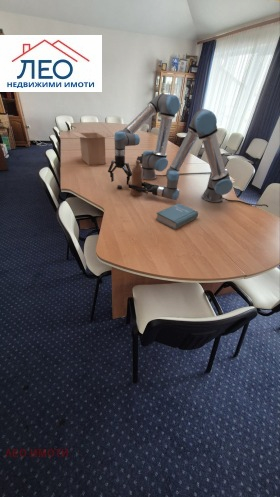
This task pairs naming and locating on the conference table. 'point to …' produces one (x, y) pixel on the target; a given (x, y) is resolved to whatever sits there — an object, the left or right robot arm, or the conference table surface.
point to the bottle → (137, 178)
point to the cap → (119, 186)
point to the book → (176, 215)
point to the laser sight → (140, 158)
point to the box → (92, 146)
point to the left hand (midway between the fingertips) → (120, 182)
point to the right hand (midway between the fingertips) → (131, 184)
